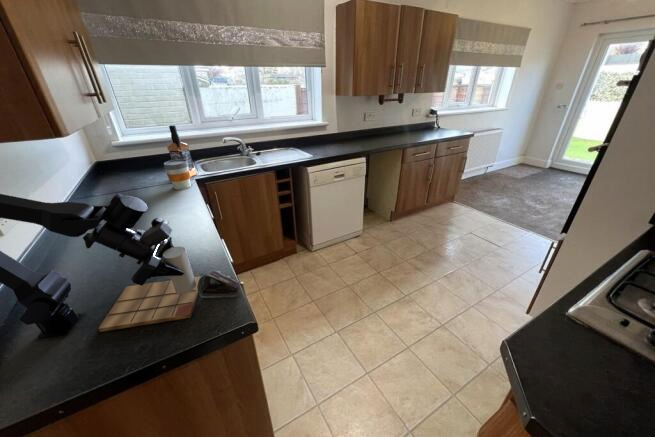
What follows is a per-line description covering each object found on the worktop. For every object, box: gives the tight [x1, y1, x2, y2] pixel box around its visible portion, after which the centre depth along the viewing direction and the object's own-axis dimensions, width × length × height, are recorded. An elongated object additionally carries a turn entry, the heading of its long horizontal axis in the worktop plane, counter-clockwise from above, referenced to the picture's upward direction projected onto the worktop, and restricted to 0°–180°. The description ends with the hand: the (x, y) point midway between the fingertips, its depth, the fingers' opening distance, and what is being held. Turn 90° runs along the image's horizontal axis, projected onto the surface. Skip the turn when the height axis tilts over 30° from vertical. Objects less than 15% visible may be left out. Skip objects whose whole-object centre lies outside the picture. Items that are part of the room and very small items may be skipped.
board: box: [97, 275, 201, 333], centre depth 77 cm, size 22×16×1 cm
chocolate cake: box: [197, 269, 240, 299], centre depth 81 cm, size 10×7×12 cm
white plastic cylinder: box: [163, 246, 196, 294], centre depth 73 cm, size 5×5×12 cm
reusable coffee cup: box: [163, 159, 192, 190], centre depth 157 cm, size 13×12×15 cm
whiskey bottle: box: [166, 124, 198, 178], centre depth 171 cm, size 10×10×32 cm
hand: (185, 267), depth 73 cm, fingers closed on white plastic cylinder, 5 cm apart
